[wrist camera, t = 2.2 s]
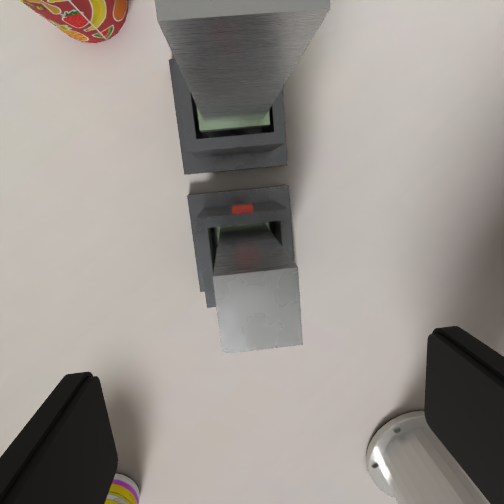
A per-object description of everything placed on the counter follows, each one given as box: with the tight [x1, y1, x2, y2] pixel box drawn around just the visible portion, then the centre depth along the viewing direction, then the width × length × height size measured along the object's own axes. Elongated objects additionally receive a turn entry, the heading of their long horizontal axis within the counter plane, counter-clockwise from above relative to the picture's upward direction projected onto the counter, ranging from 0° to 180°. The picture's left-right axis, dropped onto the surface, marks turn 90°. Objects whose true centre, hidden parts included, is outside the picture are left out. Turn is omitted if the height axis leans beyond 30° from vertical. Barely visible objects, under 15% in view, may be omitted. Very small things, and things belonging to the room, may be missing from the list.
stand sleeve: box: [187, 185, 294, 308], centre depth 30 cm, size 10×10×9 cm
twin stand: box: [155, 0, 330, 175], centre depth 19 cm, size 10×10×25 cm
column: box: [213, 222, 303, 354], centre depth 24 cm, size 5×5×18 cm
